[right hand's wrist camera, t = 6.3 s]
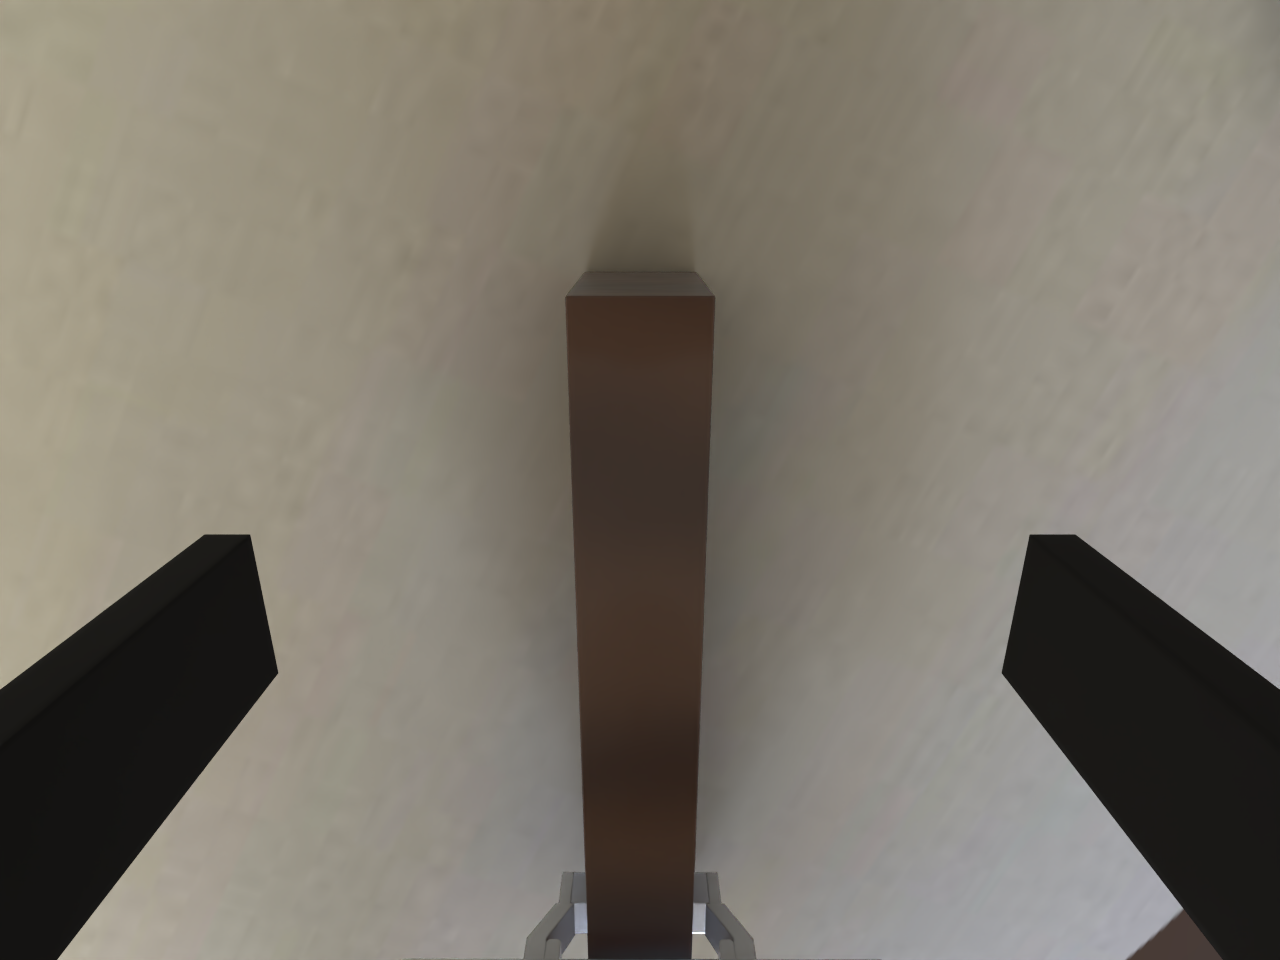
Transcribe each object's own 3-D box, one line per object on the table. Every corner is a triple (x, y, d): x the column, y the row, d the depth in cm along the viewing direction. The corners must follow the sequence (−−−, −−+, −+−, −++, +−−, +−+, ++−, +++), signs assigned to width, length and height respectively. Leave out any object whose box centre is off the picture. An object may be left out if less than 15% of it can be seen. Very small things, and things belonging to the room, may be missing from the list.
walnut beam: (584, 271, 26) (565, 295, 20) (696, 271, 26) (715, 295, 20) (600, 893, 37) (591, 1044, 30) (680, 894, 37) (688, 1044, 30)
